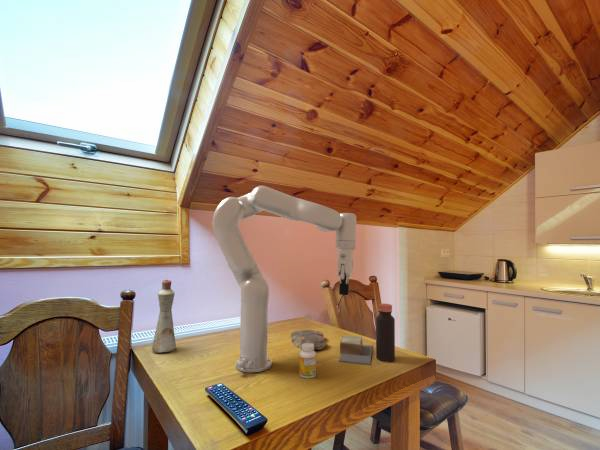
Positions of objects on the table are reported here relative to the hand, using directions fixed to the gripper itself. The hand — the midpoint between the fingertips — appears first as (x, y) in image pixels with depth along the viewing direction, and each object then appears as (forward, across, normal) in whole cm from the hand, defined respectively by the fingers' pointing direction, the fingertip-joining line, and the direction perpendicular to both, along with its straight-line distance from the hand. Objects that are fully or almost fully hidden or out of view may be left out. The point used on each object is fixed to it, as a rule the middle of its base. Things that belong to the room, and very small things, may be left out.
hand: (343, 294), depth 117 cm
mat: (+24, +7, -5) cm, 25 cm away
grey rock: (+25, +12, +16) cm, 32 cm away
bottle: (+26, -12, +69) cm, 75 cm away
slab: (+21, +4, -3) cm, 22 cm away
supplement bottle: (+25, -17, +8) cm, 31 cm away
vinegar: (+24, +5, -16) cm, 29 cm away
